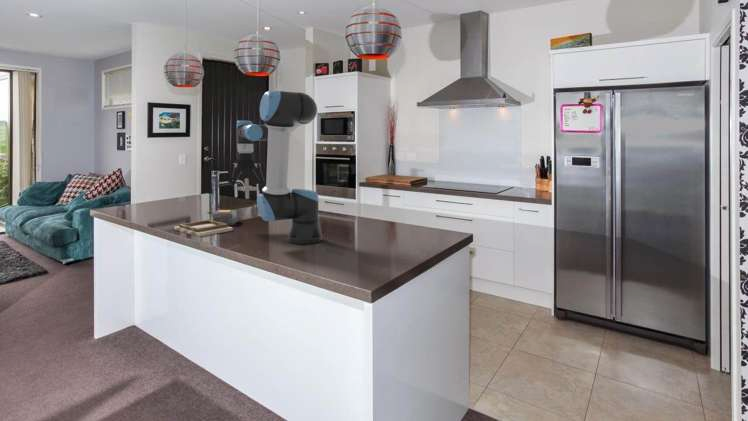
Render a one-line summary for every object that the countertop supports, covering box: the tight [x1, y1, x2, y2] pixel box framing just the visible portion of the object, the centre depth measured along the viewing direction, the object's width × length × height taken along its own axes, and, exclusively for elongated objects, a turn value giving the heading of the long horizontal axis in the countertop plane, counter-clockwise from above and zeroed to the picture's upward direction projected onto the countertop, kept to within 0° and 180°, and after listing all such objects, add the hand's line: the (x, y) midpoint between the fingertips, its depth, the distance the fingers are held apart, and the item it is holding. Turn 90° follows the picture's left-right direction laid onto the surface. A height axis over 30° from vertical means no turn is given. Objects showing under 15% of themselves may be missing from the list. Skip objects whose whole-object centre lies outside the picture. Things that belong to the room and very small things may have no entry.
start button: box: [217, 209, 233, 213], centre depth 236 cm, size 6×6×3 cm
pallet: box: [173, 219, 234, 238], centre depth 218 cm, size 22×18×3 cm
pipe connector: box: [237, 178, 257, 200], centre depth 223 cm, size 10×10×10 cm
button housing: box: [212, 209, 239, 226], centre depth 236 cm, size 11×11×6 cm
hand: (247, 196), depth 224 cm, fingers closed on pipe connector, 10 cm apart
